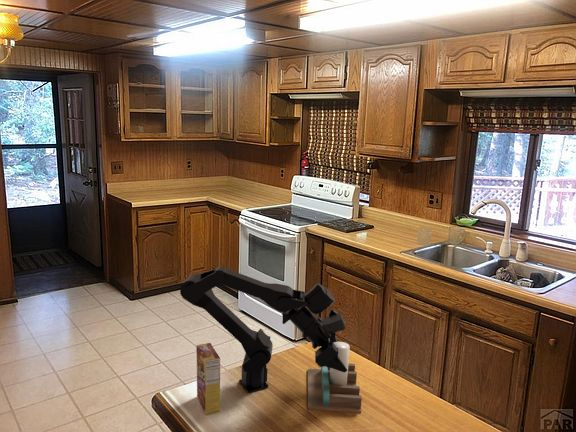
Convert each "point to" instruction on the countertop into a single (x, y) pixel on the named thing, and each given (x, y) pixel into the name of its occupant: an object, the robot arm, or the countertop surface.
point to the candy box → (208, 378)
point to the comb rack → (333, 391)
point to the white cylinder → (343, 354)
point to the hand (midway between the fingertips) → (344, 362)
